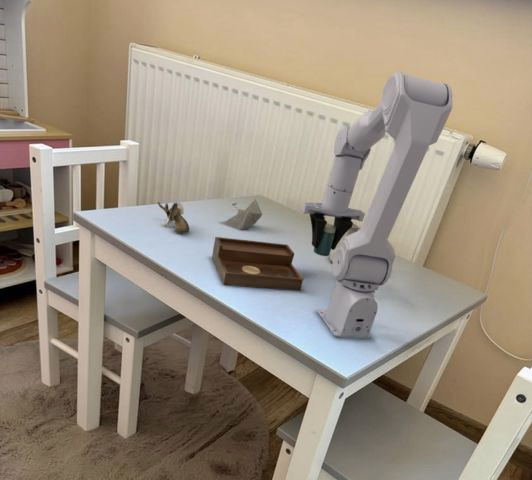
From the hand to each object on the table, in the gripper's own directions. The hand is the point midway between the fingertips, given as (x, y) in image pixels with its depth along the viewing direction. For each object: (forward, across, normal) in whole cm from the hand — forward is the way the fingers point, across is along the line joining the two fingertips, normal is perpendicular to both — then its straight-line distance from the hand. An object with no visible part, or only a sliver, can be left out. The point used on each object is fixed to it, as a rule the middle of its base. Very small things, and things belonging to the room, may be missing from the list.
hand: (323, 247), depth 117 cm
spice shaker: (+1, 0, 0) cm, 1 cm away
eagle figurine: (+7, +31, -21) cm, 38 cm away
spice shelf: (+7, +16, +3) cm, 17 cm away
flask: (+7, -11, -9) cm, 16 cm away
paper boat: (+7, +11, -29) cm, 32 cm away
